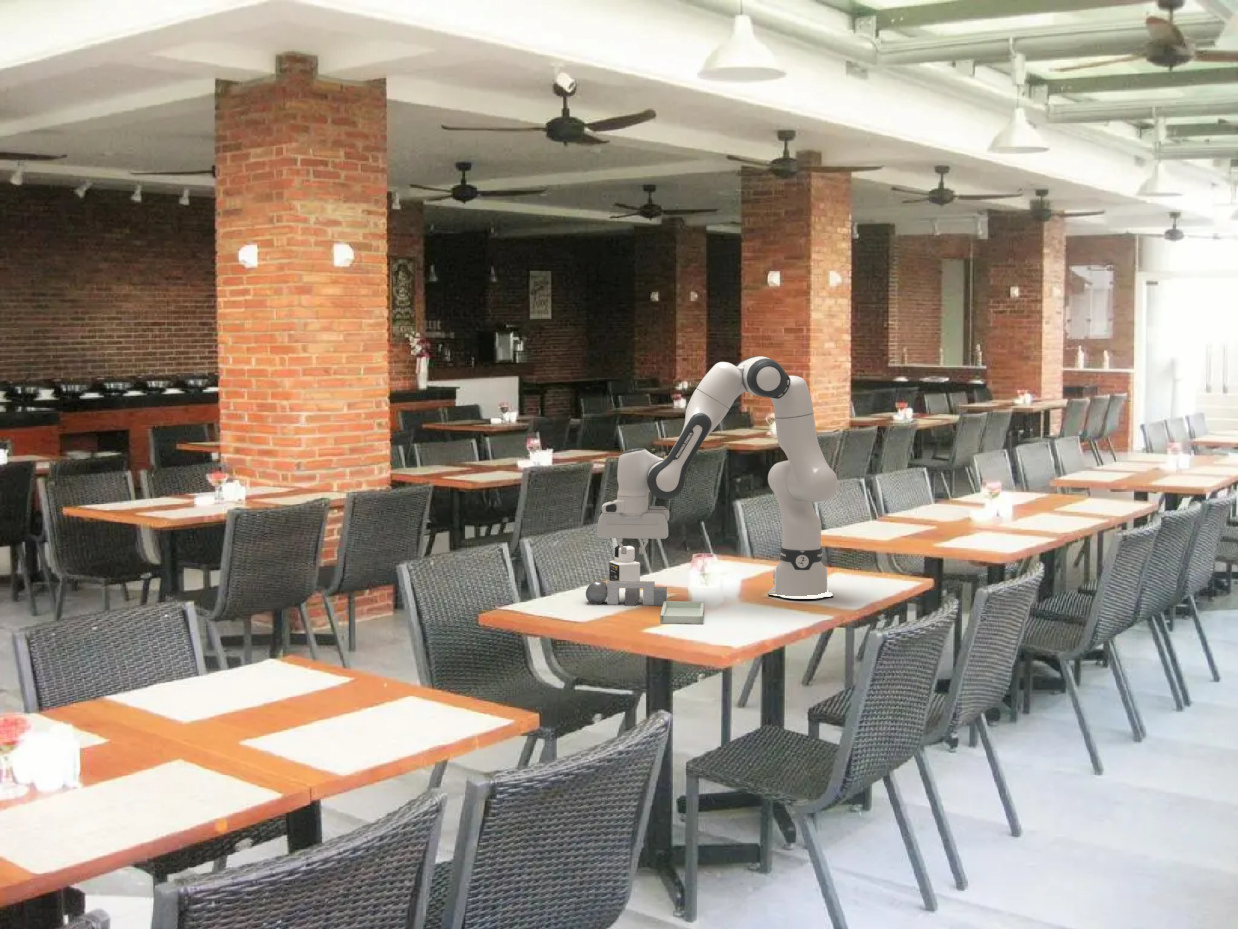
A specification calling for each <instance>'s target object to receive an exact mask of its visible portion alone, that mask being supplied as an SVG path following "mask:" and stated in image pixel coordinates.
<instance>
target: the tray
mask: <svg viewBox="0 0 1238 929" xmlns="http://www.w3.org/2000/svg"><path fill="white" fill-rule="evenodd" d="M704 612H705V602H704V601H685V600H684V601H681V600H680V601H676V600H674V601H673V600H667V601H664V603H663V606H661V611H660V614H659V615H660V616H659V617H660V618H659V619H660V620H659V622H660V624H674V623H683V624H684V623H691V624H690V625H703V623H704V614H703V613H704ZM684 625H685V624H684Z"/></svg>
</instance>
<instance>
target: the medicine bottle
mask: <svg viewBox="0 0 1238 929" xmlns="http://www.w3.org/2000/svg"><path fill="white" fill-rule="evenodd" d="M622 545H623V547H627V550H626V551H627V553H626V554H621V548H620V546H619V545H616V546H615V547H614V560H610V561H609V563H608V564H609V566H608V567H609V569H608V570H609V571H608V572H609V579H608V581H641V563H640V562H639V561H636V559H635V558H636V557H635V556H636V555H635V554H636V552H635V551H636V550H635V549H636V548H635V547H634V546H633V545H631V544H622Z"/></svg>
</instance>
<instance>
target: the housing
mask: <svg viewBox="0 0 1238 929" xmlns="http://www.w3.org/2000/svg"><path fill="white" fill-rule="evenodd" d="M655 583H656V582H655V581H647V580H646V581H645V580H644V581H643V580H642V581H641V580H640V581H609V580H608V581H607V583H606V582H604V581H603V580H600V579H597V580H593V581H592V582H590V583H589V585H588V586H587V588H586V590H585V597H586V599H587V601H588V602H589V603H590V604H592V605H595V606H597V605H598V606H599V605H601V604H602V603H605V601H606V604H607V605H610V604H616V605H619V604H620V589H623V588H624V589H625V588H640V589H642V606H656V607H663V603H664V601H668V586H656V584H655ZM616 605H615V606H616Z"/></svg>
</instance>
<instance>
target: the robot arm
mask: <svg viewBox="0 0 1238 929" xmlns="http://www.w3.org/2000/svg"><path fill="white" fill-rule="evenodd" d="M743 393H749V394H751V395H753V396H756V397H762V398H769V399H770V400H771V403H772V406H773V413H774V422H775V429H776V430H775V431H776V437H777V438H776V439H777V443H778V445H779V448H781V450H782V451H783V452H784V453H785V456H786V458H787V460H783V461H779V462H776V463H775V464H773V465H772V467H771V468H770V470H769V471H768V475H767V483H768V486H769V488H770V490H772V492H773V494H774V495H775V499H776V502H777V505H778V508H779V514H780V518H781V547H780V551H779V555H780V556H779V558H780V559H779V560H780V562H779V563H778V564H777V566H776V567H775V569H774V570H773V573H772V574H773V575H772V578H773V579H774V580H773V587H772V588H770V589H769V590H768V591H767V594H768V593H769V594H777V595H785V596H807V595H818V594H821V593H825V592H827V589H828V568H826V566H825V565H824V564H823V562H822V560H823V548H822V547H821V546H822V544H821V540H822V538H821V536H822V522H821V519H820V517H819V516H818V515H817V513H816V511H815V509H814V505H813V503H819V502H825V501H829V500H830V499H832V498H833V497H834V495H835V494H836V492H837V490H838V486H839V481H838V477H837V474H836V473H835V471H834V470H833V469H832V468H831V467H830V465H829V464H828V463H827V460H826V457H825V456H824V454H823V451H822V449H821V447H820V446H821V445H820V444H819V440H818V435H817V430H816V429H817V428H816V421H815V414H814V407H813V406H814V405H813V402H812V396H811V393H810V389H809V386H808V383H807V381H806V380H805V379H804V378H803V377H800V376H797V375H788V374H787V372H786V371H785V369H784V368H783V367H782V365H781V364H780V363H779V362H777V361H776V360H774V359H772V358H769V357H767V356H761V355H759V356H757V355H755V356H754V355H753V356H749V357H747V358H746V359H744V360H742V361H740V362H738V363H736V364H733V363H730V362H728V361H727V362H726V361H719V362H717V363H715V364H714V365H713V366H712V367H711V368H710V369H709V371H708V372H707V373H706V374H704V377H703V378H702V379H701V380H700V382H699V384H698V385H697V386H696V389H695V390H694V391H693V393H692V395H691V397H690V399H689V402H688V404H687V406H686V409H685V418H684V424H683V427H682V428H683V429H682V431H681V433H680V435H679V437H678V439H677V440H676V442H675V443H674V445H673V446H672V449H671V450H670V451H669V454H668V455H667V457H666V458H665V459H664V458H662V457H660V456H657V455H655V454H653V453H651V452H650V451H648V450H647V449H646V448H643V447H635V448H631V449H627V450H624V451H623V452H622V453H621V454H620V455H619V457H618V462H617V473H616V474H617V476H616V478H617V483H618V484H617V485H618V490H617V493H616V494H617V495H616V496H617V498H616V499H613V500H611V501H608V502H604V503H603V504H602V505H601V512H602V513H601V514H600V516H599V517H598V520H597V526H596V527H597V528H596V529H597V530H596V535H597V537H598V538H599V539H616V542H617V544H618V546H620V548H621V554H626V553H627V551H626V550H627V547H623V545H624V544H623V543H622V542H623V541H624V539H640V540H641V539H642V542H643V545H642V547H638V551H639V552H638V555H645V548H646V546H647V545H648V543H649V539H650V540H651V539H652V540H655V539H656V540H657V539H658V540H665V539H667V538H668V537H669V524H668V522H669V520H670V510H669V509H668V507H665V506H664V505H659V506H658V505H649V494H650V493H651V494H652V495H653V496H654V497H655V498H657V499H659V500H664V501H665V500H671V499H675V498H676V497H677V496H678V495H680V494H681V493H682V491H683V489H684V486H685V480H686V473H687V470H688V468H689V466H690V464H691V463H692V461H693V459H694V457H695V455H696V454H697V452H698V451H699V449H700V448H701V446H702V443H704V441H705V440H706V438H708V436H709V435H710V434H711V433H712V432H713V431H714V430H715V429H716V428H717V426H719V424H720V423H721V421H723V419H724V418H725V416H727V413H728V412H729V411H730V409H731V408H732V405H733V404H734V402H735V400H737V398H738V397H739V396H740V395H742V394H743ZM774 585H775V586H774ZM771 591H775V592H771Z"/></svg>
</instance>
